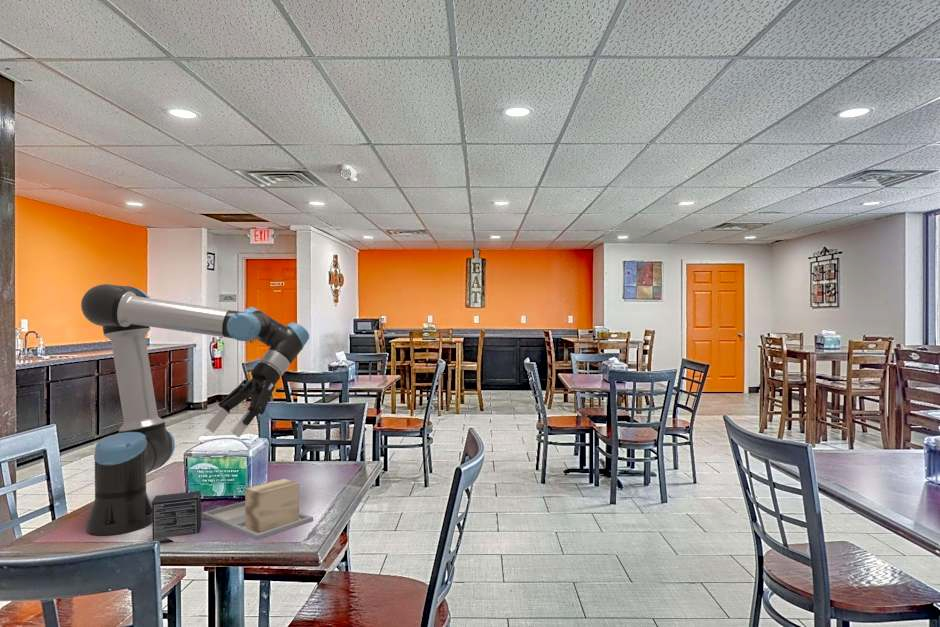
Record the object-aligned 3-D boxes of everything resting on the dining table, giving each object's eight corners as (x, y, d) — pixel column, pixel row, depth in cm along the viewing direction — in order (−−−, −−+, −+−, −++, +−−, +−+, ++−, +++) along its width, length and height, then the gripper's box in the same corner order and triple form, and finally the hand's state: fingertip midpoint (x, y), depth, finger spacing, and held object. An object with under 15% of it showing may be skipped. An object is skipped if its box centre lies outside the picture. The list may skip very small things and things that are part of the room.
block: (245, 528, 144) (245, 488, 144) (283, 516, 152) (283, 478, 152) (260, 534, 139) (260, 493, 140) (299, 521, 148) (299, 483, 148)
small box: (202, 530, 147) (201, 489, 147) (199, 539, 141) (199, 496, 141) (155, 536, 143) (155, 494, 143) (151, 545, 137) (151, 501, 137)
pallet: (201, 522, 153) (201, 512, 153) (255, 506, 165) (255, 497, 165) (257, 546, 136) (257, 535, 136) (313, 526, 148) (313, 517, 148)
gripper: (304, 378, 157) (256, 444, 145) (255, 376, 173) (209, 435, 161) (286, 361, 153) (235, 427, 141) (238, 360, 169) (189, 420, 157)
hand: (221, 432), depth 151 cm, fingers open, 13 cm apart
